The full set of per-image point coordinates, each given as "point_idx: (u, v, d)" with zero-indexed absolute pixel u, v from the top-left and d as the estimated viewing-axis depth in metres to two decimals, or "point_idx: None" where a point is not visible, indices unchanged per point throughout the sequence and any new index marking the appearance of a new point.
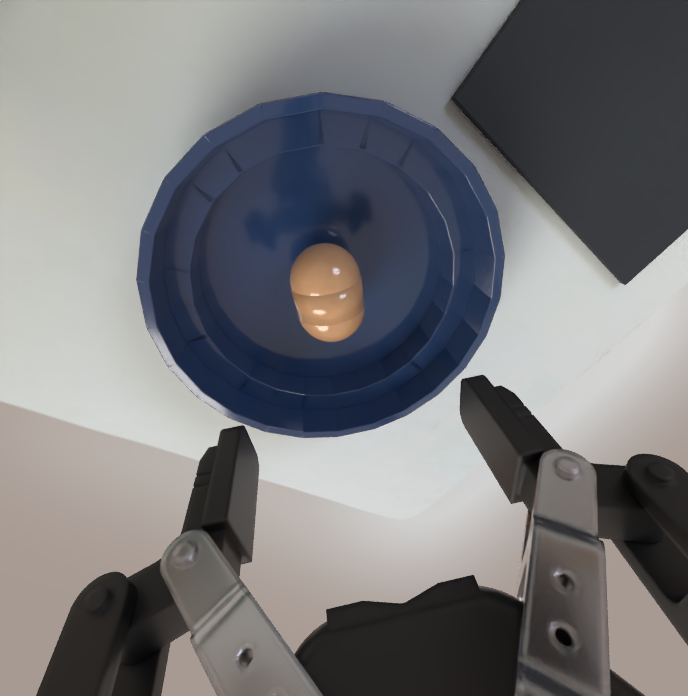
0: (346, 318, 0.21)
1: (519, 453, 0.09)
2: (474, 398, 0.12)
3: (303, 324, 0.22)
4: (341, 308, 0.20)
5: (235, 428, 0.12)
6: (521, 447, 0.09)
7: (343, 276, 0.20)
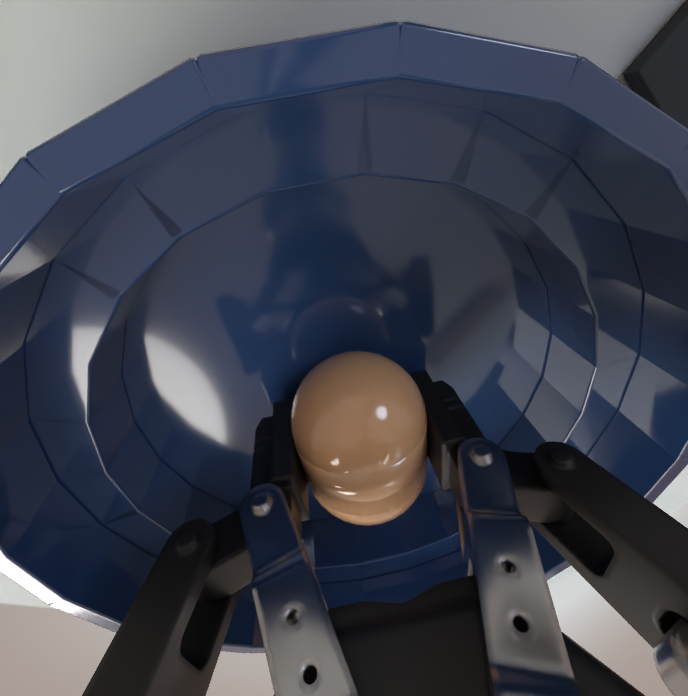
0: (400, 501, 0.11)
1: (442, 441, 0.10)
2: None
3: (316, 497, 0.12)
4: (393, 489, 0.10)
5: (286, 400, 0.13)
6: (445, 436, 0.10)
7: (401, 437, 0.10)
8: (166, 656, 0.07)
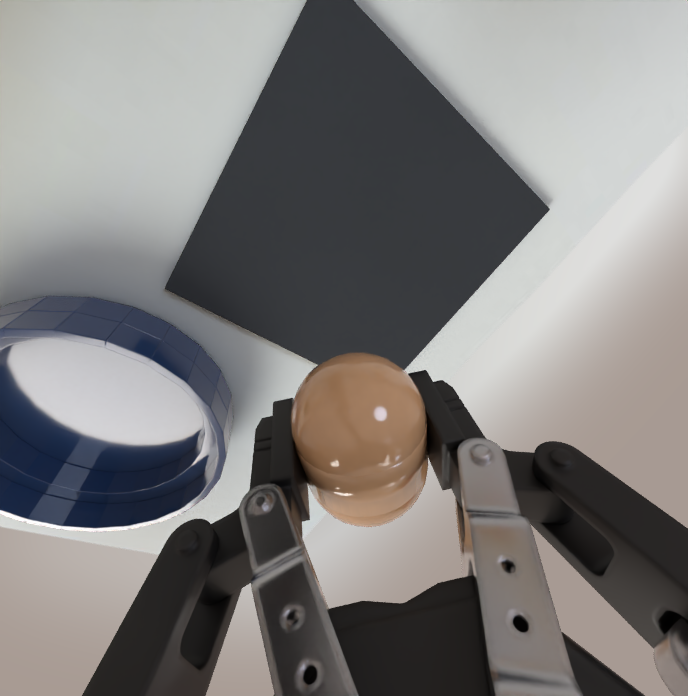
0: (400, 502, 0.11)
1: (442, 441, 0.10)
2: None
3: (316, 498, 0.12)
4: (393, 490, 0.10)
5: (286, 400, 0.13)
6: (445, 436, 0.10)
7: (401, 438, 0.10)
8: (166, 656, 0.07)
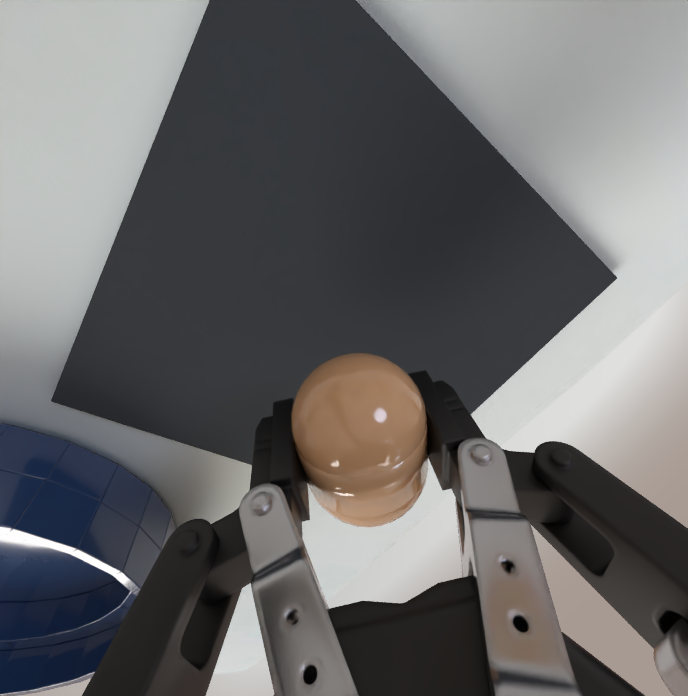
0: (400, 503, 0.11)
1: (442, 441, 0.10)
2: None
3: (316, 499, 0.12)
4: (393, 491, 0.10)
5: (286, 400, 0.13)
6: (445, 436, 0.10)
7: (401, 439, 0.10)
8: (166, 656, 0.07)
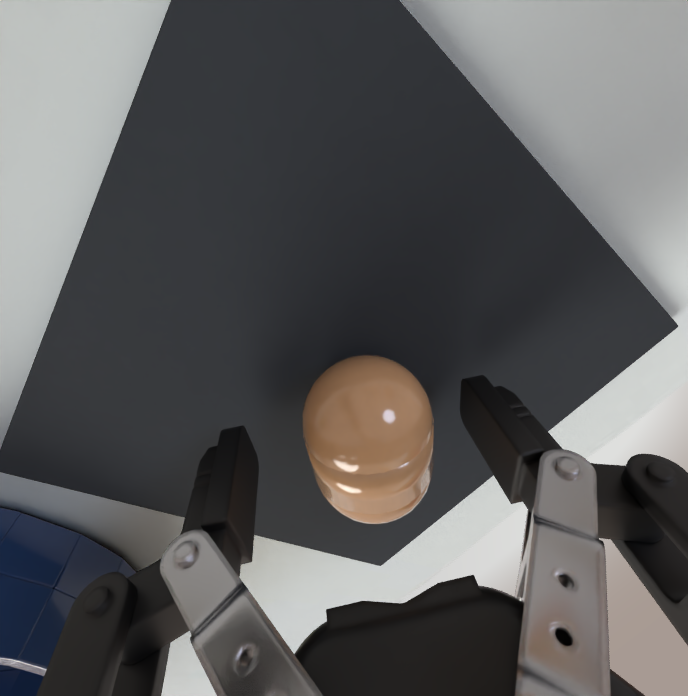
0: (418, 492, 0.11)
1: (519, 453, 0.09)
2: (474, 398, 0.12)
3: (334, 505, 0.12)
4: (413, 481, 0.11)
5: (235, 428, 0.12)
6: (521, 447, 0.09)
7: (419, 429, 0.10)
8: None
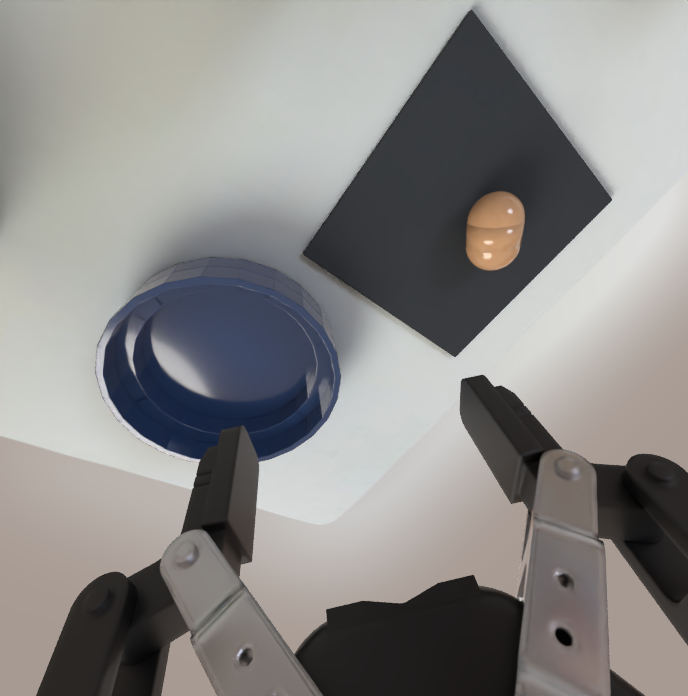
0: None
1: (519, 453, 0.09)
2: (474, 398, 0.12)
3: (501, 254, 0.28)
4: None
5: (235, 428, 0.12)
6: (521, 447, 0.09)
7: None
8: None
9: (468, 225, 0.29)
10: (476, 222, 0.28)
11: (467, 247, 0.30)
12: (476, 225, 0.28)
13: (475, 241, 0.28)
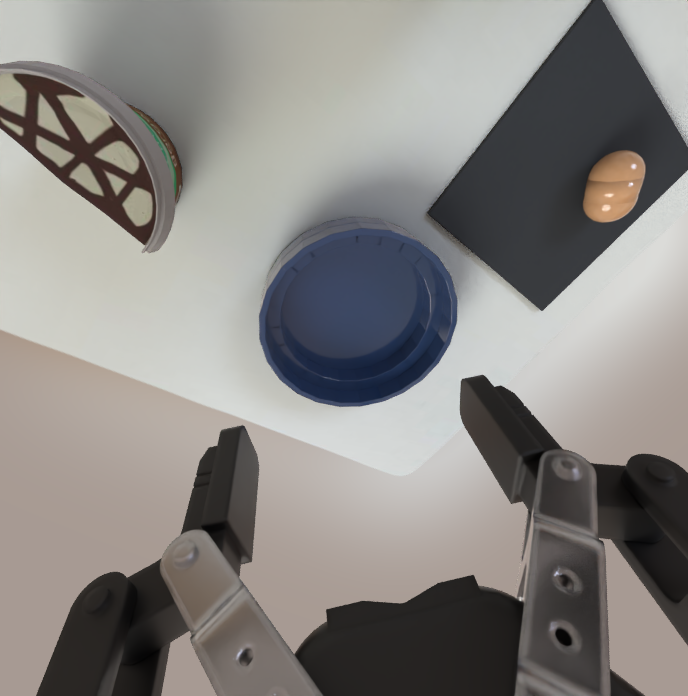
0: None
1: (519, 453, 0.09)
2: (474, 398, 0.12)
3: (635, 202, 0.33)
4: None
5: (235, 428, 0.12)
6: (521, 447, 0.09)
7: None
8: None
9: (606, 183, 0.32)
10: (621, 177, 0.31)
11: (602, 203, 0.33)
12: (621, 180, 0.31)
13: (617, 195, 0.32)
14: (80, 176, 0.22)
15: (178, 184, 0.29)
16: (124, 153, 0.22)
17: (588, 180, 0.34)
